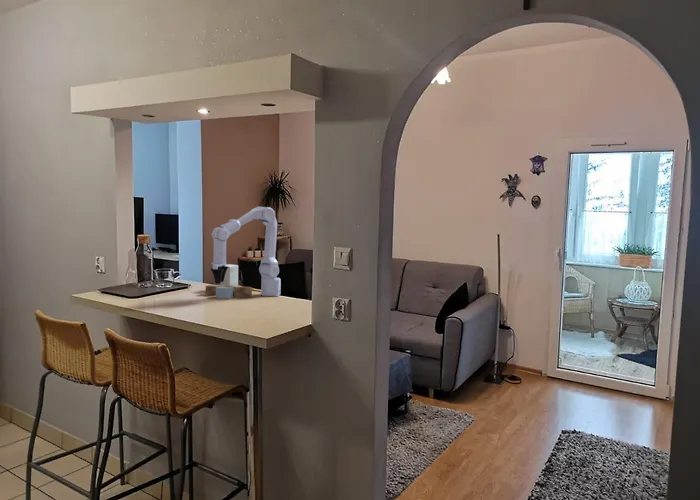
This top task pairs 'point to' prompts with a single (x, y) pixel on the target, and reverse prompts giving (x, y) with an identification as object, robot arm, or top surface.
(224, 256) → the robot arm
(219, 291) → the cabinet block
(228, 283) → the small box
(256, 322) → the top surface
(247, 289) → the beige wooden bar
